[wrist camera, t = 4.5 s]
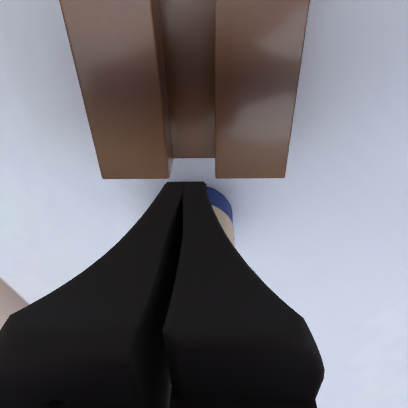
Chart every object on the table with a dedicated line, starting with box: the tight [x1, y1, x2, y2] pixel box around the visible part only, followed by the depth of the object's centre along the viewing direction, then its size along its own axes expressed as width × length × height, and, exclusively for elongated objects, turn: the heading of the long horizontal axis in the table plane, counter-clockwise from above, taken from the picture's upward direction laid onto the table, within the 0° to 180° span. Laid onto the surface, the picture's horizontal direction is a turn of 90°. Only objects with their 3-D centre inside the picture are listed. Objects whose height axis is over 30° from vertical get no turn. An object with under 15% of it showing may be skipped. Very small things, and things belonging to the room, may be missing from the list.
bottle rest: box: [59, 0, 310, 179], centre depth 14 cm, size 7×8×3 cm
